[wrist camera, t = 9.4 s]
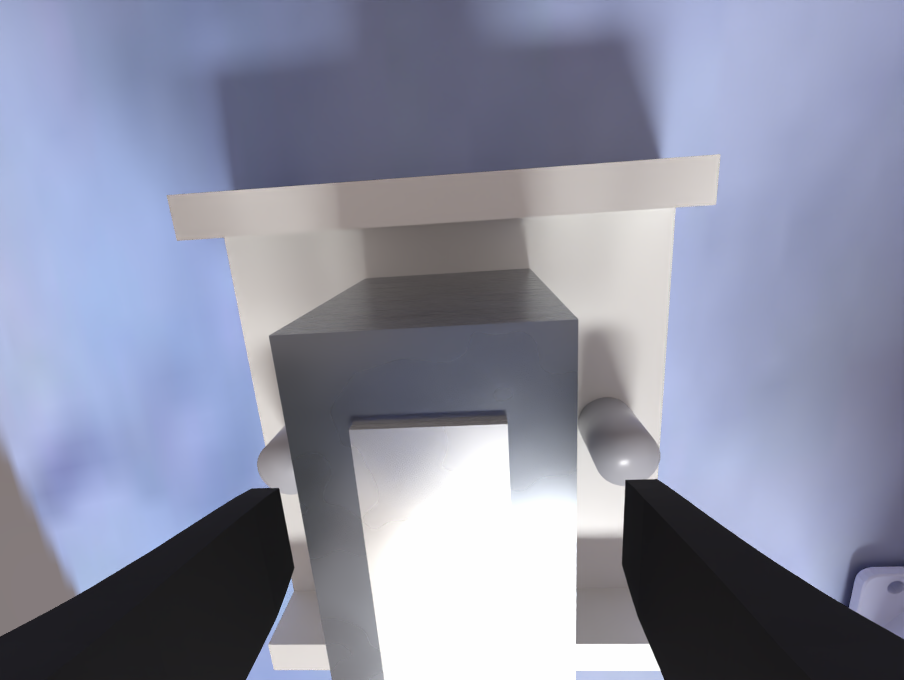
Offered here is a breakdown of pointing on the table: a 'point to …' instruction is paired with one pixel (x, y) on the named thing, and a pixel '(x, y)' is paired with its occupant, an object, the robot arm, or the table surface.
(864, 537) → the table surface
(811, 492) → the table surface
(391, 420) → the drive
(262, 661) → the table surface
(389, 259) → the tray
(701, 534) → the robot arm
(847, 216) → the table surface
